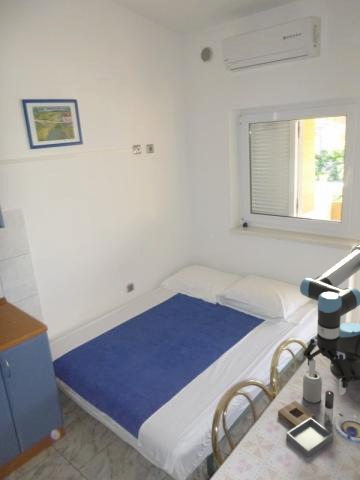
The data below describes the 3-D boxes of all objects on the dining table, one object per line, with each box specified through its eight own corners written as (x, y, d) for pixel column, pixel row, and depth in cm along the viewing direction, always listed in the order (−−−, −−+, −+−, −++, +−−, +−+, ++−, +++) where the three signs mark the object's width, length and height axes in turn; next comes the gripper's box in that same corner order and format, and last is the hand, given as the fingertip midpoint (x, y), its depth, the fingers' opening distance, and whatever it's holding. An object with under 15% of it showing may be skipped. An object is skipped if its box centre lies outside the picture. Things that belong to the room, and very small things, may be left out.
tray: (310, 422, 147) (310, 417, 146) (332, 439, 139) (332, 434, 138) (286, 438, 141) (286, 432, 140) (307, 456, 132) (308, 451, 132)
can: (322, 404, 156) (323, 380, 152) (303, 403, 157) (304, 379, 154) (319, 392, 163) (320, 369, 159) (301, 391, 164) (302, 368, 161)
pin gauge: (327, 418, 148) (329, 389, 144) (334, 423, 146) (335, 393, 142) (322, 422, 147) (323, 392, 143) (328, 427, 144) (330, 397, 140)
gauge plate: (295, 405, 157) (295, 400, 156) (314, 419, 148) (314, 414, 148) (278, 415, 152) (278, 410, 151) (297, 431, 144) (297, 426, 143)
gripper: (294, 323, 143) (294, 370, 149) (352, 354, 122) (349, 407, 128) (308, 317, 146) (307, 363, 152) (366, 346, 125) (363, 398, 132)
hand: (326, 383), depth 140 cm, fingers open, 13 cm apart
